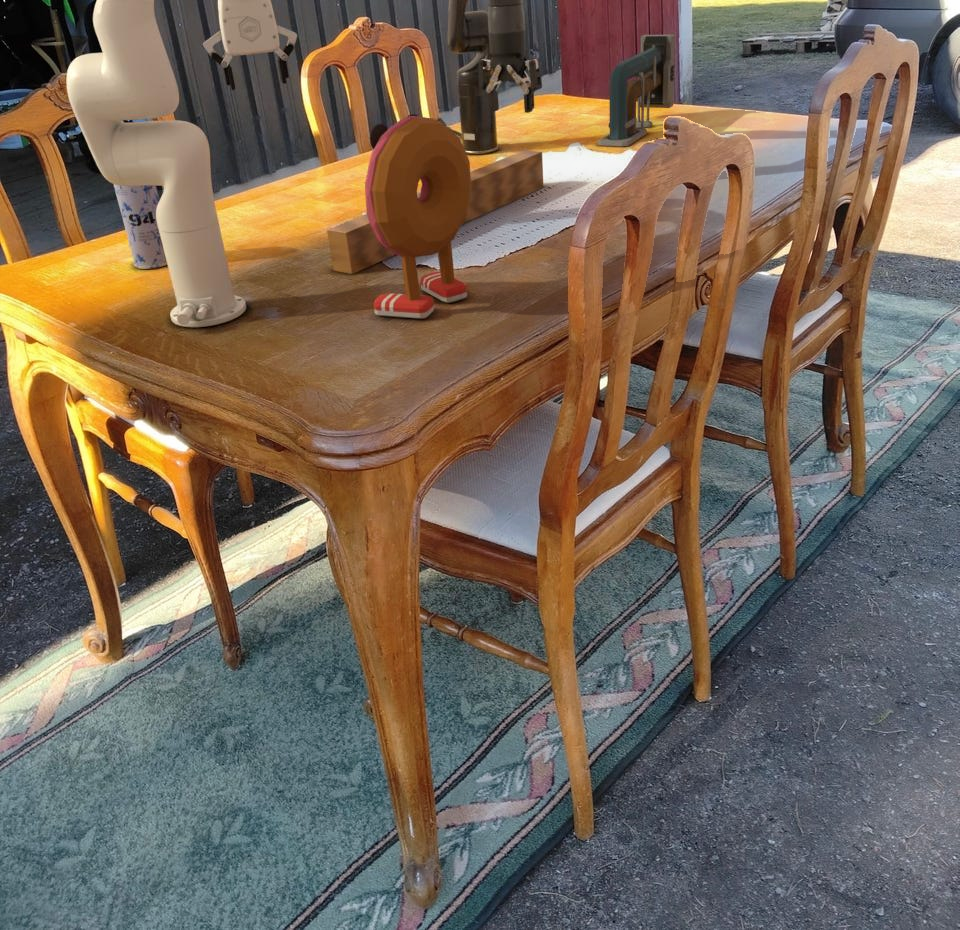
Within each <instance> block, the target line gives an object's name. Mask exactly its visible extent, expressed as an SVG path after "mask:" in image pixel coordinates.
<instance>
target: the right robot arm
mask: <svg viewBox="0 0 960 930" xmlns="http://www.w3.org/2000/svg"><path fill="white" fill-rule="evenodd" d="M468 2H469V0H448V10H447V18H446V19H447V20H446V41H447V47H448V49H449V50H450V52H451V53H453V54H455V55H462V54H471V53H476V55H475V57H474V58H473V60H471V61H470V62H469V63H468V64H465V65H464V66H462V67H460V68H459V69H457V71H456V86H457V97H458V109H459V121H460V122H459V123H460V131H457V130H454V129H451V128H449V127H448V126H447V124H446V122H445V121H444V120H443V119H442V118H441V117H438V118H437V119H436V120H438V121H439V122H441V123H442V124H444V125H445V126H446V127H447V128H448V129H450V130H451V131H452V132H453V133H454V134H455V135H457V136H458V137H459V138H460V139H461V143H462V145H463V147H464V150H465V152H466V154H467V155H483V154H490V153H493V152H496V151H498V149H499V145H498V132H497V114H496V111H499V109H500V106H499V105H500V104H499V92H498V91H497V90H498V88H499V87H500V85H501V84H502V83H505V82H510V83H516V85H517V86H518V87H520V89H521V90H522V92H523V106H524V107H523V111H524V113H527V114H529V113H532V112H533V110H534V109H535V92H536V91H539V90H541V89H542V88H543V81H542V70H541V69H542V68H541V60H540V58H534V59H529V60H528V59H527V56H526V52H527V41H526V20H525V19H526V18H525V11H524V4H523V0H487V8H488V9H487V10H488V11H486V10H474V11H473V10H472V11H466V10H467V5H468ZM526 69H527V70H528V71H529V75H528V73H527V71H526Z"/></svg>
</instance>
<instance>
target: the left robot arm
mask: <svg viewBox="0 0 960 930" xmlns="http://www.w3.org/2000/svg"><path fill="white" fill-rule="evenodd" d="M217 10H218V23H219V29H220V30H218V31H217V32H216V33H215V34H213V35H212V36H210V37H209V38H207V40H205V41H204V42H203V43H202V47H203V48H204V50H205V51H206V52H207V54H208V55H209V56H210V58H211V59H212V60H213V61H215V62H216V63H217V64H218V65H220V66H221V67H222V69H223V75H224V80H225V84H226V86H229V87H230V89H231V91H235V90H236V84H235V78H234V73H233V68H232V66H231V65H230V63H231V62H232V59H233V57H234V56H235V57H237V56H248V55H257V54H265V53H271V52H273V53H274V54H275V55H276V56H277V57H278V58H277V59H278V60H277V67H278V73H279V78H280V83H282V84H283V85H284V84H287V79H289V78H290V75H289V69H288V62H287V60H288V59H289V57H290V55H291V53H292V52H294V49H295V45H296V42H297V39H298V34H297V33H296V32H295V31H292V30H290V29H288V28H286V27H283V26H281V25H278V24H277V20H276V17H275V13H274V8H273V4H272V0H217ZM155 15H156V14H155V0H96V2H95V4H94V8H93V13H92V23H93V29H94V32H95V35H96V37H97V40H98V42H99V43H98V44H99V46H100V48H101V52H91V53H85V54H81V55H79V56H77V57H75V58H74V59H73V60H72V61H71V62H70V64H69V66H68V68H67V70H66V78H65V79H66V80H65V81H66V83H65V84H66V91H67V92H66V93H67V97H68V101H69V104H70V107H71V109H72V112H73V114H74V117H75V119H76V121H77V123H78V126H79V128H80V130H81V132H82V135H83V137H84V139H85V142H86V144H87V146H88V149H89V151H90V153H91V155H92V158H93V161H94V162H95V165H96V166H97V168H98V170H99V172H100V173H101V175H102V176H103V177H104V179H105V180H106V181H108V182H109V183H110V184H113V185H114V184H115V185H119V186H143V185H155V186H156V187H157V186H159V187H160V186H161V187H163V191H162V194H161V197H160V198H159V203H158V205H157V209H156V220H157V225H158V229H159V232H160V236H161V240H162V244H163V248H164V252H165V256H166V260H167V269H168V273H169V276H170V280H171V284H172V289H173V293H174V295H175V300H176V301H175V302H176V304H177V305H176V306H174V307H173V308H172V310H171V311H170V313H169V315H170V316H169V317H170V320H171V322H172V323H173V324H174V325H176V326H179V327H182V328H183V327H184V328H205V327H213V326H217V325H221V324H224V323H228V322H230V321H233V320H235V319H237V318H238V317H240V316H241V315H243V314H244V313H245V311H246V310H247V303H246V300H245V299H244V298H243V297H241V296H239V295H236V294H235V292H234V291H235V290H234V287H233V281H232V278H231V273H230V268H229V264H228V260H227V255H226V249H225V245H224V241H223V240H224V239H223V236H222V232H221V226H220V223H219V222H220V221H219V217H218V213H217V212H218V211H217V207H216V202H215V198H214V191H213V184H212V171H211V169H212V168H211V149H210V144H209V141H208V138H207V135H206V133H204V131H203V130H202V129H201V128H200V127H199V126H197V125H196V124H194V123H192V122H190V121H186V120H185V121H184V120H180V119H178V120H177V119H167V120H166V119H164V120H153V119H159V118H164V117H167V116H170V115H172V114H173V113H175V111H176V110H177V108H178V106H179V103H180V91H179V87H178V83H177V80H176V77H175V74H174V70H173V68H172V65H171V62H170V58H169V56H168V53H167V51H166V48H165V44H164V41H163V38H162V35H161V33H160V30H159V29H160V28H159V26H158V23H157V19H156V16H155ZM279 35H282V36H283V37H287V43H286V45H285V46H284V48H283V49H281V48H280V46H281V45H280V37H279ZM220 41H221V42H222V46H223V49H224V51H225V52H224V54H223V55H222V56H221V55H220V54H218V53H217V51H216V50H215V49H214V46H215V45H217V43H219V42H220ZM151 119H152V120H151ZM139 120H146V121H139ZM125 121H129V122H125ZM130 121H131V122H130ZM132 121H133V122H132Z"/></svg>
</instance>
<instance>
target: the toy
mask: <svg viewBox="0 0 960 930" xmlns="http://www.w3.org/2000/svg"><path fill="white" fill-rule="evenodd" d="M446 126H447V125H446ZM446 126H445V125H444V124H442V123H441V122H440V121H438V120H437V119H435V118H431V117H425V116H419V115H417V114H415V113H414V114H413V113H410V114H409V115H407V116H405V117H403V118H401V119H400V120H398V121H397V122H396V123H394V124H393V125H392V126H390V127H389V128H388V126H386V125H385V124H384V123H377V124H375V125H374V126H373V127H372V129H371V130H370V134H369V145H370V146H371V148H372V151H371V154H370V157H369V163H368V167H367V171H366V172H367V173H366V178H365V182H364V195H365V208H366V209H365V210H366V211H365V212H366V214H367V216H368V220H369V223H370V225H371V227H372V229H373V231H374V233H375V235H376V237H377V239H378V240H379V241H380V242H381V244H382V245H383V246H385V247H386V248H387V249H389V250H390V251H392V252H394V253H396V254H395V255H397V256H399V257H401V269H402V277H403V282H404V290H405V293H387V292H386V293H382V294H380V295H379V296H378V297H377V298H375V300H374V302H373V310H374V314H375V315H376V316H380V317H393V318H404V319H405V318H407V319H409V318H410V319H426V318H428V317H429V316H430V315H431V314H432V313H433V312H434V311H435V303H434V298H433V297H435V298H436V299H437V300H439V301H441V302H443V303H446V304H448V303H449V304H450V303H454V302H457V301H461V300H464V299H466V298H467V297H468V291H467V285H466V283H465V282H463V281H461V280H459V279H457V278H455V270H454V260H453V247H452V241H454V239H455V237H456V236H457V235H458V232H459V231H460V228H461V227H462V225H463V224H464V223H463V221H464V219H465V218H466V214H467V209H468V204H469V200H470V195H471V190H472V187H471V175H470V172H471V163H470V160H469V157H468V154H466V152H465V150H464V147H463V145H462V139H461V137H460V136H459V135H457V134H454V133H453V132H452V131H451V130H450V129H451V128H449V127H448V126H447V127H448V128H449V129H448V128H447V127H446ZM419 182H421V186H420V191H419V192H420V195H419V198H418V197H417V193H418V188H419ZM462 223H463V224H462ZM435 254H437V257H438V264H439V271H434V272H430V273H426V274H423V275H422V276H421V277H420V282H419V276H418V269H417V268H418V267H417V258H421V257H427V256H428V257H429V256H433V255H435ZM419 283H420V285H419ZM420 289H421V290H422V291H424V292H426V293H427V294H428V295H421V294H420V292H421V291H420ZM430 295H431V296H430Z"/></svg>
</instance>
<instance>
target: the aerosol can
mask: <svg viewBox="0 0 960 930" xmlns="http://www.w3.org/2000/svg"><path fill="white" fill-rule="evenodd" d="M113 188H114V192H115V195H116V199H117V202H118V207H119V210H120V214H121V218H122V221H123V225H124V229H125V232H126V236H127V240H128V244H129V249H130V252H131V256H132V260H133V266H134V267H135V268H136V269H141V270H148V269H157V268H161V267H164V266H168V264H167V260H166V256H165V252H164V248H163V244H162V240H161V236H160V232H159V229H158V225H157V220H156V209H157V205H158V203H159V201H160V196H159V193H158V189H157V186H155V185H143V186H119V185H115V184H113Z"/></svg>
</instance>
